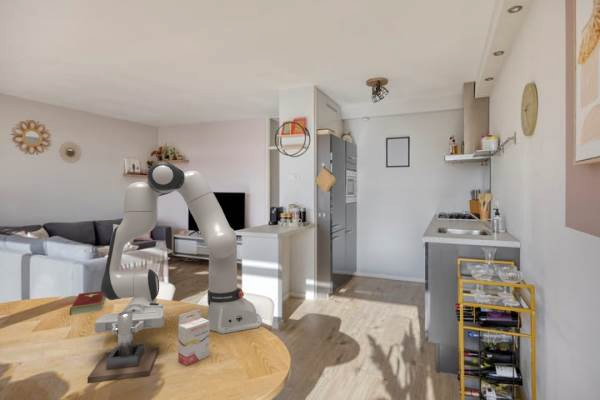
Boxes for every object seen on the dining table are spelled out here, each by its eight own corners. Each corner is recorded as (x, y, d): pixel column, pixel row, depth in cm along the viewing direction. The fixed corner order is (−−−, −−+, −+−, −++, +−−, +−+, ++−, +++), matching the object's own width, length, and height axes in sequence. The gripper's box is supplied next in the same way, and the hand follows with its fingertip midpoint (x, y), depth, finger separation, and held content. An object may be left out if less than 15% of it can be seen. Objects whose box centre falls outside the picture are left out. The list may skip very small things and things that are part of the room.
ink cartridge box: (186, 366, 103) (186, 319, 102) (177, 361, 106) (177, 315, 105) (210, 355, 109) (209, 311, 109) (201, 351, 112) (200, 307, 112)
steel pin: (134, 352, 105) (133, 311, 105) (131, 358, 101) (130, 315, 101) (120, 353, 105) (119, 312, 104) (116, 359, 101) (115, 316, 100)
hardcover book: (69, 316, 145) (69, 306, 145) (78, 301, 164) (78, 293, 164) (101, 312, 150) (101, 302, 150) (106, 298, 169) (106, 289, 169)
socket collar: (144, 353, 108) (144, 343, 108) (137, 366, 100) (137, 356, 100) (115, 356, 106) (115, 346, 106) (106, 369, 98) (106, 359, 98)
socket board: (158, 351, 112) (158, 347, 112) (148, 375, 98) (148, 370, 98) (106, 356, 109) (105, 352, 109) (87, 382, 94) (87, 377, 94)
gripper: (102, 307, 113) (86, 323, 100) (167, 303, 118) (159, 318, 104) (103, 326, 113) (86, 344, 100) (167, 321, 118) (159, 338, 104)
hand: (124, 331), depth 102 cm, fingers closed on steel pin, 4 cm apart
